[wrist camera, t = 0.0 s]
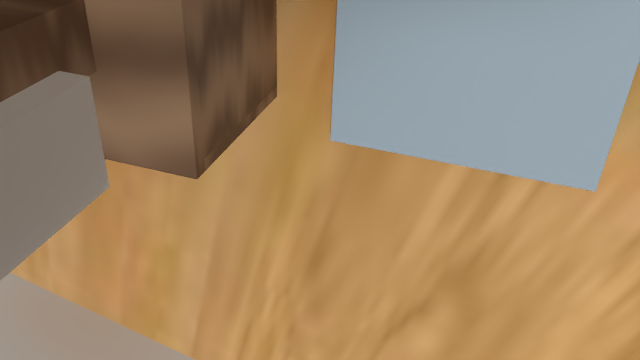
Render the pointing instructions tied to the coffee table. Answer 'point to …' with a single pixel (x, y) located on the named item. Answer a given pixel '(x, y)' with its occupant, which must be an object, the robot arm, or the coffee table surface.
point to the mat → (487, 82)
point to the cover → (151, 70)
